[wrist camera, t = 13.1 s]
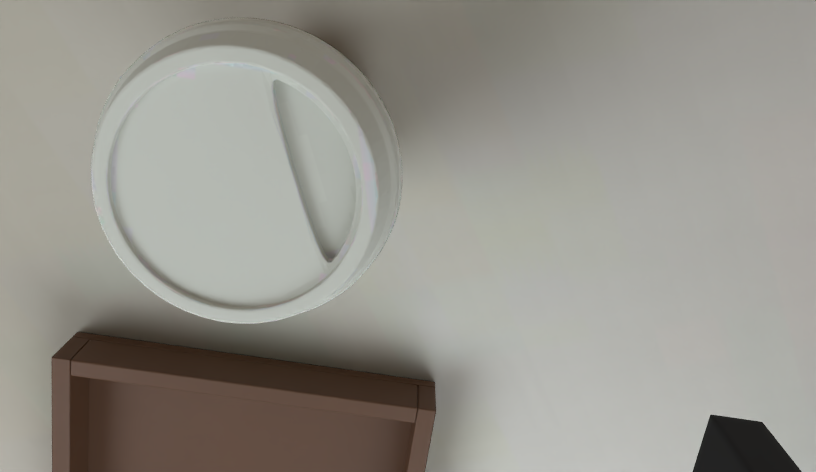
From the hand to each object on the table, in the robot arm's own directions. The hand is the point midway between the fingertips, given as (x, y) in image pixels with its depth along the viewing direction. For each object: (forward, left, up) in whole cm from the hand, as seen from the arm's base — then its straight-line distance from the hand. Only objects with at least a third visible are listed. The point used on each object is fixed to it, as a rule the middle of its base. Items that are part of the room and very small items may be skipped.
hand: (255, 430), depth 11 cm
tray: (+3, +18, -21) cm, 28 cm away
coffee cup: (+3, -1, -21) cm, 21 cm away
